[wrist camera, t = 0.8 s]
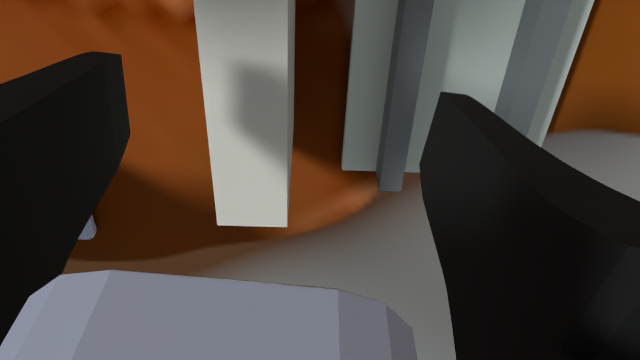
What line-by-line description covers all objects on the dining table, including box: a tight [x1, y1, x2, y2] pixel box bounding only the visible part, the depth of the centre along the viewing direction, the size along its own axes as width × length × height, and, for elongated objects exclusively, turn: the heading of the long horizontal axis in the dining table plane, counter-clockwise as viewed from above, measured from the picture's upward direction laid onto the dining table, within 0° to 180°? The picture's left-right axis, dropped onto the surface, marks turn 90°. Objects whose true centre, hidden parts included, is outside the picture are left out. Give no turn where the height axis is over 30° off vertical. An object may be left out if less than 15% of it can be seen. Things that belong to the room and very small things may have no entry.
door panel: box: [193, 0, 295, 227], centre depth 17 cm, size 2×10×7 cm, turn 178°
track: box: [341, 0, 594, 191], centre depth 19 cm, size 9×16×2 cm, turn 178°
